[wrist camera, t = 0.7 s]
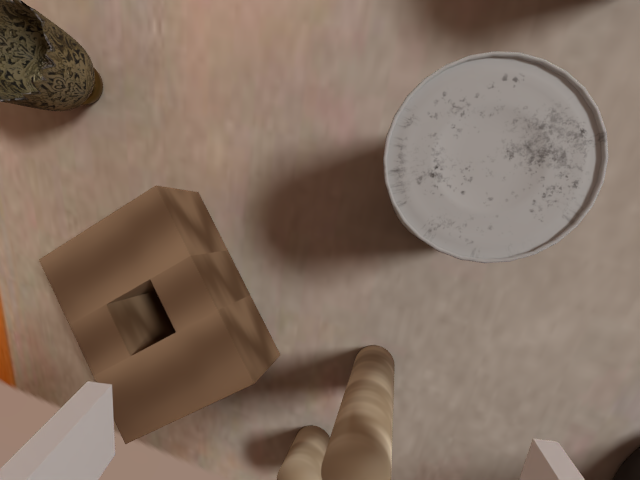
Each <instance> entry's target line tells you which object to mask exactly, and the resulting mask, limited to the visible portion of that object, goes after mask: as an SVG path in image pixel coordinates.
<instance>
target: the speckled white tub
mask: <svg viewBox="0 0 640 480" xmlns="http://www.w3.org/2000/svg"><path fill="white" fill-rule="evenodd" d="M607 161H608V145H607V132H606V129H605V126H604V123H603V120H602V117H601V114H600V111H599V108H598V107H597V105H596V104H595V102H594V101H593V99H592V98H591V96H590V95H589V93H588V92H587V90H586V89H585V87H583V86H582V85H581V84H580V83H579V82H578V81H577V80H576V79H575V78H574V77H573V76H571V75H570V74H569V73H568V72H567V71H565V70H564V69H562V68H560V67H558V66H556V65H554V64H553V63H551V62H549V61H547V60H545V59H542V58H538V57H535V56H531V55H527V54H524V53H520V52H498V51H494V52H488V53H482V54H476V55H470V56H467V57H464V58H462V59H459V60H457V61H454V62H452V63H449V64H447V65H445V66H443V67H442V68H440V69H438V70H437V71H435V72H434V73H432V74H431V75H429V76H428V77H426V78H425V79H424V80H423V81H422V82H421V83H420V84H419V85H418V86H417V87H416V88H415V89H414V90H413V91H412V92H411V93H410V94H409V95H408V96H407V97H406V99H405V100H404V102H403V103H402V105H401V106H400V108H399V109H398V111H397V113H396V114H395V116H394V118H393V121H392V123H391V126H390V129H389V131H388V134H387V137H386V143H385V149H384V156H383V165H384V178H385V184H386V187H387V190H388V193H389V196H390V200H391V203H392V205H393V208H394V212H395V213H396V215H397V217H398V218H399V220H400V222H401V223H402V224H403V225H404V226H405V227H406V228H407V229H408V230H409V231H410V233H412V234H413V235H415V236H416V237H418V238H419V239H421V240H422V241H424V242H425V243H427V244H428V245H430V246H431V247H433V248H434V249H436V250H437V251H439V252H442V253H445V254H447V255H450V256H453V257H455V258H458V259H461V260H468V261H474V262H481V263H493V262H509V261H513V260H517V259H520V258H524V257H528V256H531V255H534V254H536V253H538V252H540V251H542V250H544V249H546V248H548V247H550V246H552V245H554V244H556V243H557V242H559V241H560V240H561V239H562V238H563V237H565V236H566V235H567V234H568V233H569V232H571V231H572V230H573V229H574V228H576V227H577V226H578V224H579V223H580V222H581V221H582V219H583V218H584V217H585V215H586V214H587V213H588V211H589V210H590V209H591V208H592V206H593V204H594V202H595V200H596V198H597V196H598V193H599V191H600V189H601V187H602V185H603V182H604V178H605V172H606V167H607Z"/></svg>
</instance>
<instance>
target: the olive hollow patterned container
mask: <svg viewBox="0 0 640 480" xmlns="http://www.w3.org/2000/svg"><path fill="white" fill-rule="evenodd" d="M102 90H103V82H102V78H101V76H100V75H99V73H98V72H97V70H96V69H95V68H94V67H93V64H92V62H91V60H90V57H89V56H88V54H87V53H86V51H85V50H84V49H83V47H82V46H81V45H80V44H79V43H78V42H77V41H76V40H74V39H73V38H72V37H71V36H70V35H68V34H67V33H66V32H65V31H63V30H62V29H61V28H59V27H58V26H57V25H55V24H54V23H53V22H51V21H50V20H49V19H47V18H46V17H44V16H43V15H42V14H40V13H39V12H38V11H36V10H35V9H33V8H31V7H29V6H28V5H26V4H25V3H24V2H22V1H21V0H13V1H12V0H0V101H1V102H8V103H13V104H17V105H22V106H27V107H32V108H38V109H43V110H51V111H65V110H70V109H73V108H76V107H78V106H80V105H88V104H92V103H94V102H95V101H97V100H98V99H99V97H100V96H101V93H102Z"/></svg>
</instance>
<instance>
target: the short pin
mask: <svg viewBox="0 0 640 480" xmlns="http://www.w3.org/2000/svg"><path fill="white" fill-rule="evenodd" d="M329 440H330V437H329V435H328V434H327V433H326V432H325V431H324V430H323V429H321V428H320V427H317V426H312V425H311V426H306V427H303V428H302V429H301V430H299V432H298V433H297V435H296V437H295V439H294V441H293V443H292V445H291V447H290V449H289V452H288V454H287V456H286V458H285V460H284V462H283V464H282V466H281V468H280V470H279V472H278V475H277V480H322V477H321V466H322V462H323V458H324V455H325V452H326V449H327V446H328V443H329Z"/></svg>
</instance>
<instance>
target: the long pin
mask: <svg viewBox="0 0 640 480" xmlns="http://www.w3.org/2000/svg"><path fill="white" fill-rule="evenodd" d="M393 397H394V360H393V358H392V356H391V354H390V353H389V352H388V351H387V350H386V349H384V348H383V347H380V346H376V345H371V346H367V347H364V348H363V349H361V350H360V351H359V353H358V354H357V356H356V359H355V362H354V365H353V368H352V371H351V375H350V378H349V381H348V384H347V387H346V390H345V393H344V396H343V399H342V403H341V406H340V409H339V412H338V415H337V418H336V421H335V424H334V427H333V431H332V434H331V437H330V440H329V443H328V446H327V449H326V452H325V455H324V458H323V462H322V466H321V477H322V480H391V462H392V429H393Z"/></svg>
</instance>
